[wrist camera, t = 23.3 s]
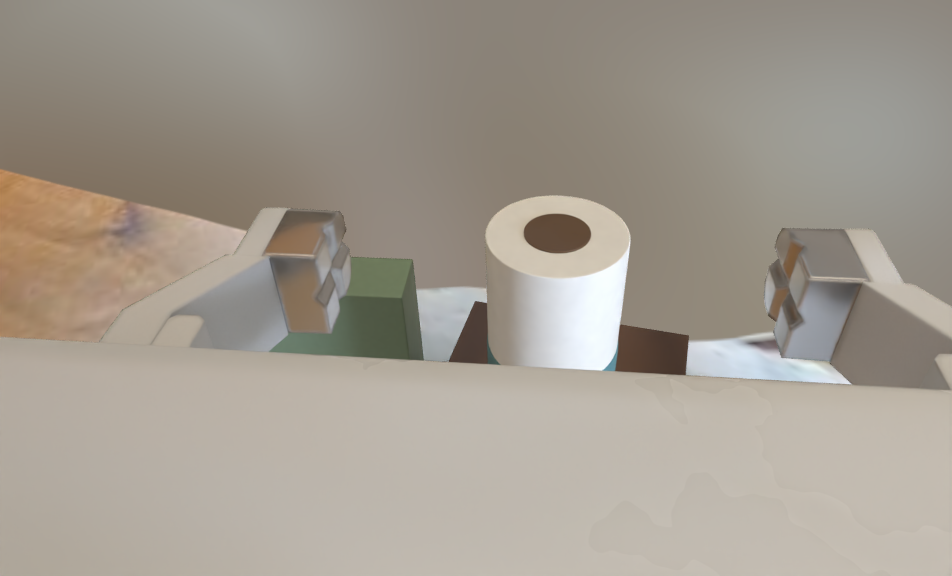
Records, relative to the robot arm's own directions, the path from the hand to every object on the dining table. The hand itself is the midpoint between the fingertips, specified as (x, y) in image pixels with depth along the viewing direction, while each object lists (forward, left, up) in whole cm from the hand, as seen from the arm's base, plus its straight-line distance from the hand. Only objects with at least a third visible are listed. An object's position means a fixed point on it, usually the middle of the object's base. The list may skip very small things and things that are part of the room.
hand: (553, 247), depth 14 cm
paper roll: (-3, +16, -19) cm, 25 cm away
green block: (-16, +17, -25) cm, 34 cm away
